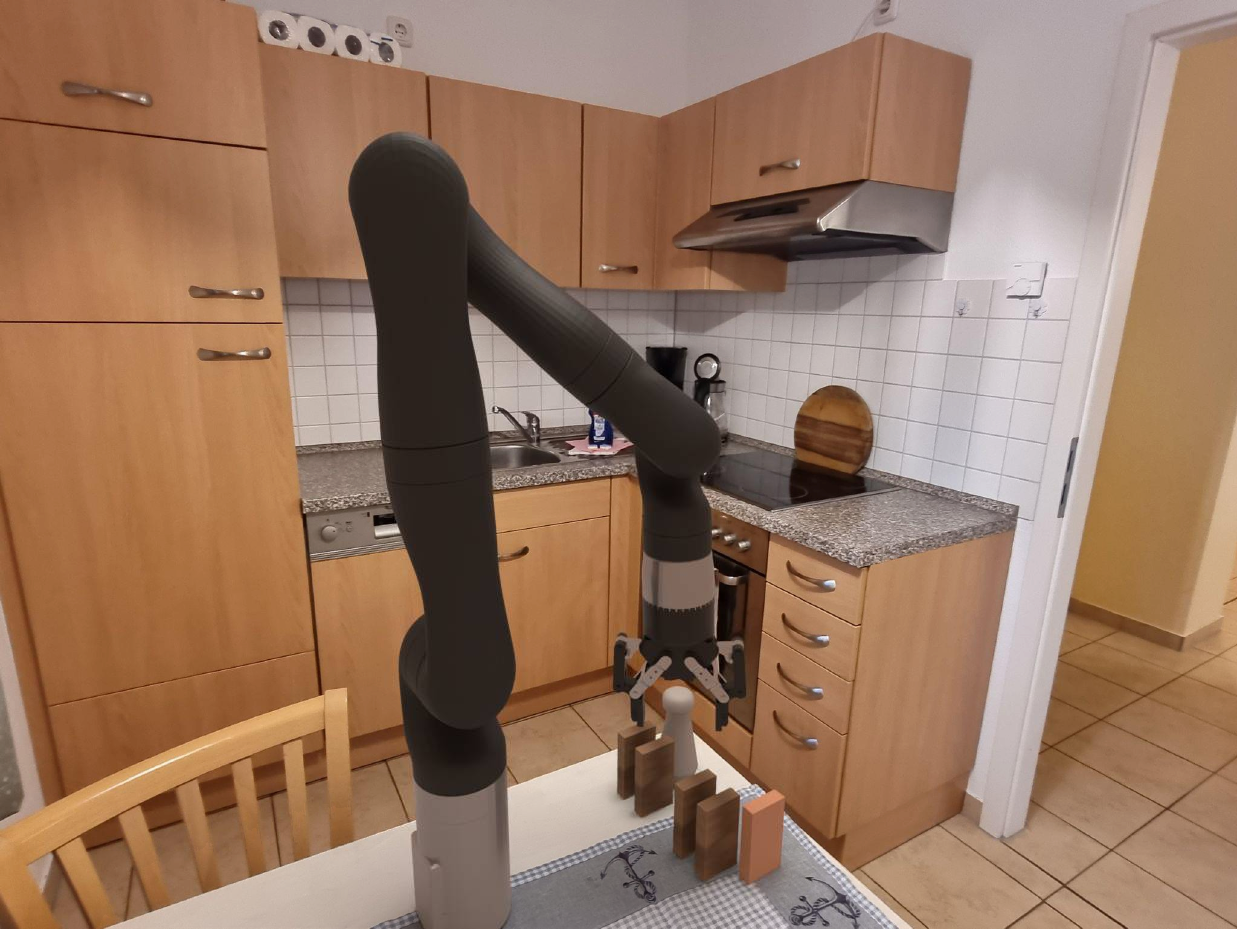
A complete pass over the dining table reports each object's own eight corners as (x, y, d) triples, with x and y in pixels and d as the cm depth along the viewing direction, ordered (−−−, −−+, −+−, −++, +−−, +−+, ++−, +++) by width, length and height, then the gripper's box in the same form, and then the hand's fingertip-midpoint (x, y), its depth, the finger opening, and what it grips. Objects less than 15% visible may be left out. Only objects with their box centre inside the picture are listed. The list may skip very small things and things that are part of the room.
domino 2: (641, 818, 87) (642, 754, 85) (634, 810, 88) (635, 747, 86) (673, 803, 89) (674, 741, 88) (665, 796, 91) (667, 735, 89)
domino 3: (681, 859, 80) (683, 791, 78) (672, 850, 82) (674, 783, 80) (713, 841, 83) (716, 775, 81) (705, 833, 84) (707, 768, 82)
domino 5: (748, 884, 77) (752, 814, 75) (738, 875, 78) (742, 805, 76) (780, 865, 79) (785, 797, 78) (770, 856, 81) (774, 789, 79)
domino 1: (623, 799, 90) (624, 738, 88) (617, 792, 91) (617, 732, 89) (654, 786, 93) (655, 725, 91) (647, 779, 94) (648, 720, 92)
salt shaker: (647, 770, 96) (649, 685, 93) (683, 759, 98) (685, 676, 95) (668, 796, 91) (670, 707, 88) (705, 784, 93) (708, 697, 90)
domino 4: (703, 882, 77) (706, 812, 75) (694, 872, 78) (696, 803, 76) (736, 863, 80) (740, 795, 78) (727, 854, 81) (730, 787, 79)
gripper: (605, 604, 69) (611, 743, 73) (749, 608, 67) (746, 750, 72) (615, 573, 76) (620, 701, 81) (745, 576, 75) (743, 707, 79)
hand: (679, 724), depth 76 cm, fingers open, 8 cm apart
